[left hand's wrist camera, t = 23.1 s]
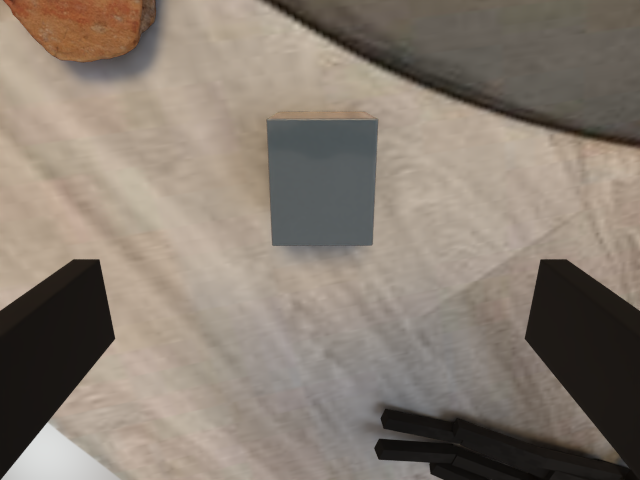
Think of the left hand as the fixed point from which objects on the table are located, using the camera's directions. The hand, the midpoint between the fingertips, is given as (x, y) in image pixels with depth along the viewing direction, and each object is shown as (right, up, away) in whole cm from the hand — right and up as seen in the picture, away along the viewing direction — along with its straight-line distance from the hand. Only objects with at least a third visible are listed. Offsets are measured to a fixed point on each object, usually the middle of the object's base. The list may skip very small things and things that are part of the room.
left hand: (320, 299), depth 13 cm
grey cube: (0, +8, +21) cm, 23 cm away
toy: (+20, -21, +32) cm, 43 cm away
